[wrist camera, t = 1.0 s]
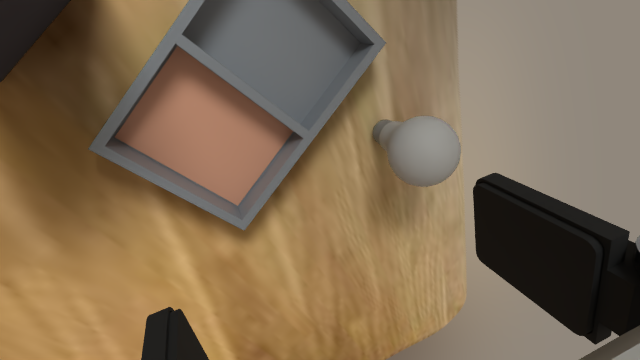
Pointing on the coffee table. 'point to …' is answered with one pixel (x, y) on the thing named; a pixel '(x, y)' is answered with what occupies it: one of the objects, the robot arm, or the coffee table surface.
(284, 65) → the sorting tray
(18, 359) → the coffee table surface
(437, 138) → the lightbulb
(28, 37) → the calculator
